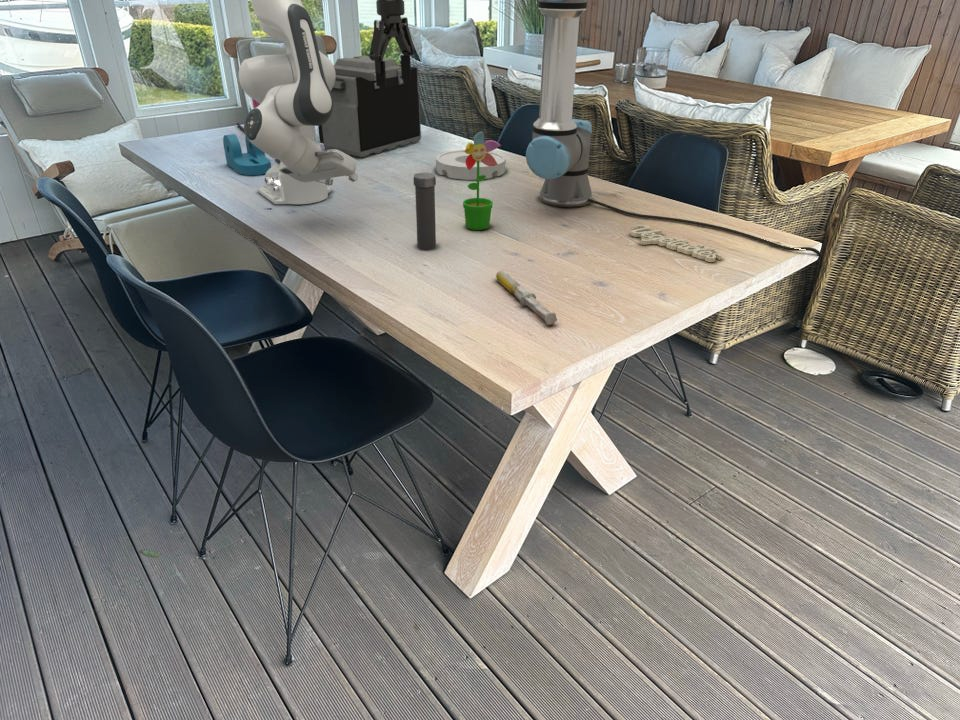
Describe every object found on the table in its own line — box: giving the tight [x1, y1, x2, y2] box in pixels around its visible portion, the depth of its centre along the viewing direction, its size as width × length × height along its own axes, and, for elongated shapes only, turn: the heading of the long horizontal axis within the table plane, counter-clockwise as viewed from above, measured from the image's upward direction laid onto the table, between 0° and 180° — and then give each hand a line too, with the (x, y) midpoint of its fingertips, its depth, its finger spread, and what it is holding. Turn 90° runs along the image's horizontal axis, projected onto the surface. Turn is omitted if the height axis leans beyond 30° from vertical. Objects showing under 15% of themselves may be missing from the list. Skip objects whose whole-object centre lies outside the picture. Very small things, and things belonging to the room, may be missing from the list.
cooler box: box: [317, 55, 422, 159], centre depth 250 cm, size 37×22×30 cm, turn 144°
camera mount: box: [222, 133, 272, 176], centre depth 226 cm, size 18×10×10 cm, turn 35°
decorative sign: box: [630, 224, 722, 263], centre depth 172 cm, size 26×1×10 cm
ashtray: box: [435, 149, 507, 181], centre depth 229 cm, size 23×23×4 cm
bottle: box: [414, 185, 437, 251], centre depth 165 cm, size 5×5×17 cm
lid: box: [412, 172, 437, 188], centre depth 161 cm, size 5×5×2 cm
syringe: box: [495, 269, 558, 326], centre depth 143 cm, size 25×4×3 cm, turn 21°
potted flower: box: [462, 131, 501, 231], centre depth 176 cm, size 9×8×25 cm
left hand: (343, 181), depth 182 cm, fingers open, 8 cm apart
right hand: (394, 83), depth 195 cm, fingers open, 13 cm apart
